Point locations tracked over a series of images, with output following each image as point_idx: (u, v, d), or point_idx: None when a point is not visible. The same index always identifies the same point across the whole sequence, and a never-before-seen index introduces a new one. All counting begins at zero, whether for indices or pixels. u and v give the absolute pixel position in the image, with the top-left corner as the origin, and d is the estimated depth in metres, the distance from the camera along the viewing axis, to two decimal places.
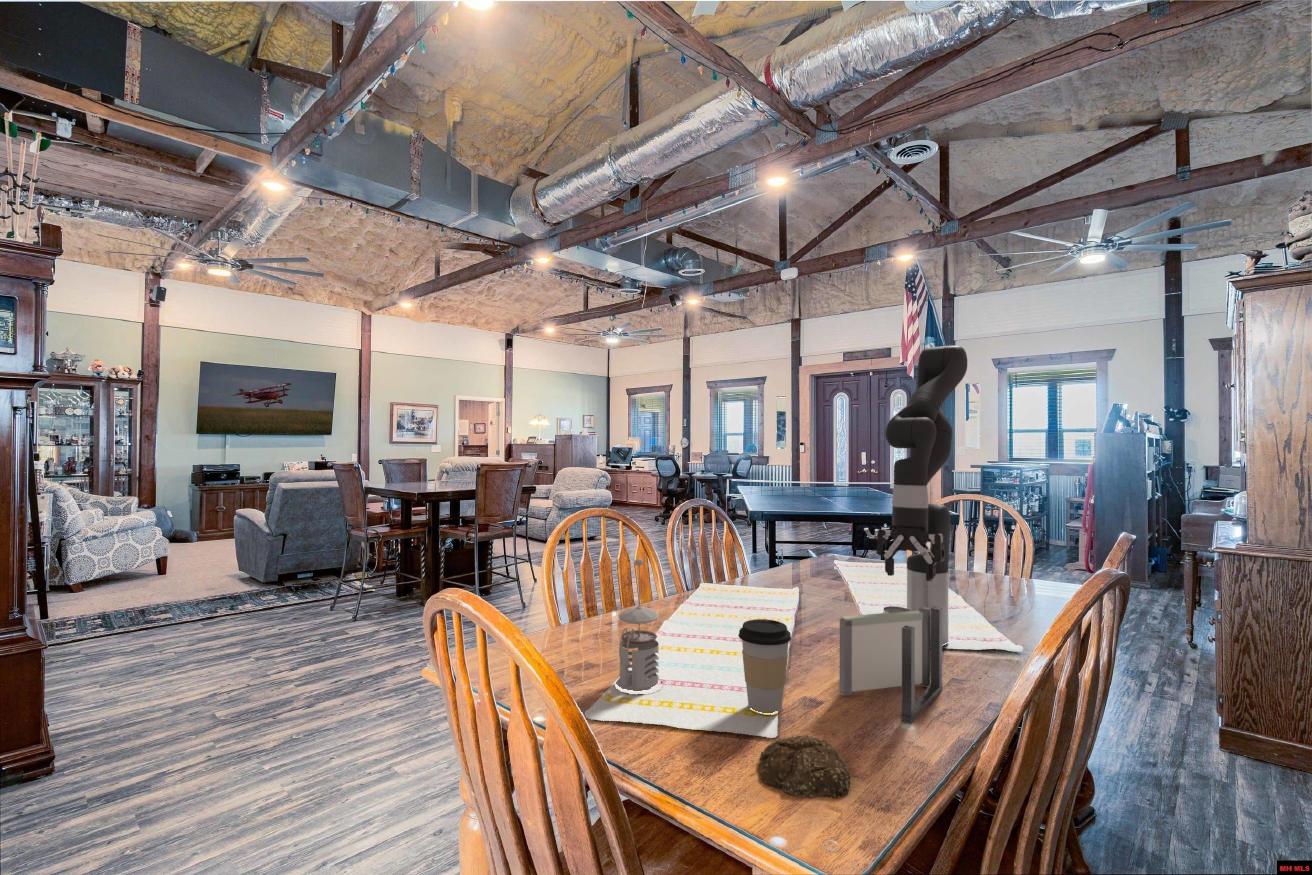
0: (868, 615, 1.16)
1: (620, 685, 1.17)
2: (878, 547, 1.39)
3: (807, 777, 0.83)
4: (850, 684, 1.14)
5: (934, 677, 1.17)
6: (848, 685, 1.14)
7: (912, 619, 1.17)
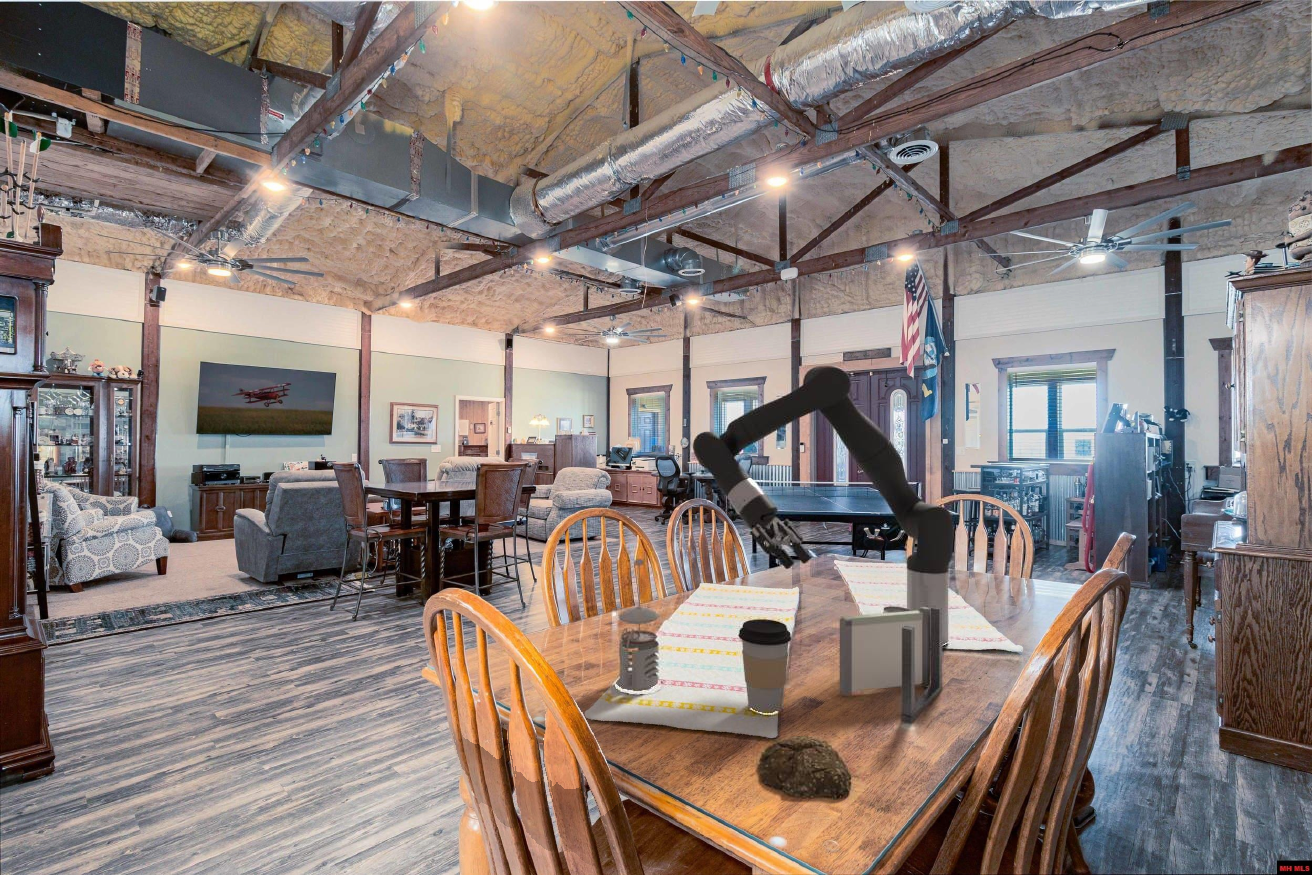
0: (868, 615, 1.16)
1: (620, 685, 1.17)
2: None
3: (808, 778, 0.83)
4: (850, 684, 1.14)
5: (934, 677, 1.17)
6: (848, 685, 1.14)
7: (912, 619, 1.17)
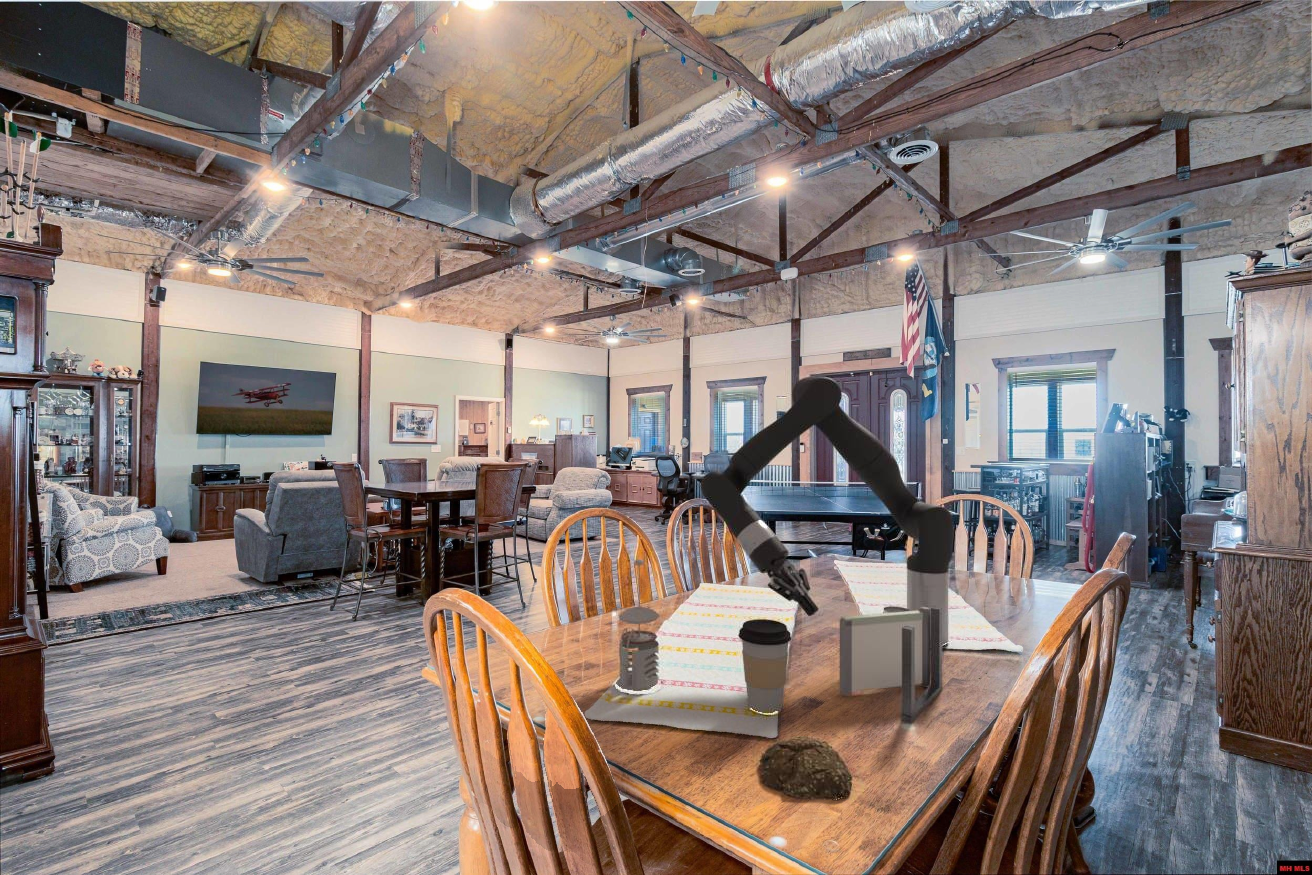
0: (868, 615, 1.16)
1: (620, 685, 1.17)
2: None
3: (809, 779, 0.83)
4: (850, 684, 1.14)
5: (934, 677, 1.17)
6: (848, 685, 1.14)
7: (912, 619, 1.17)
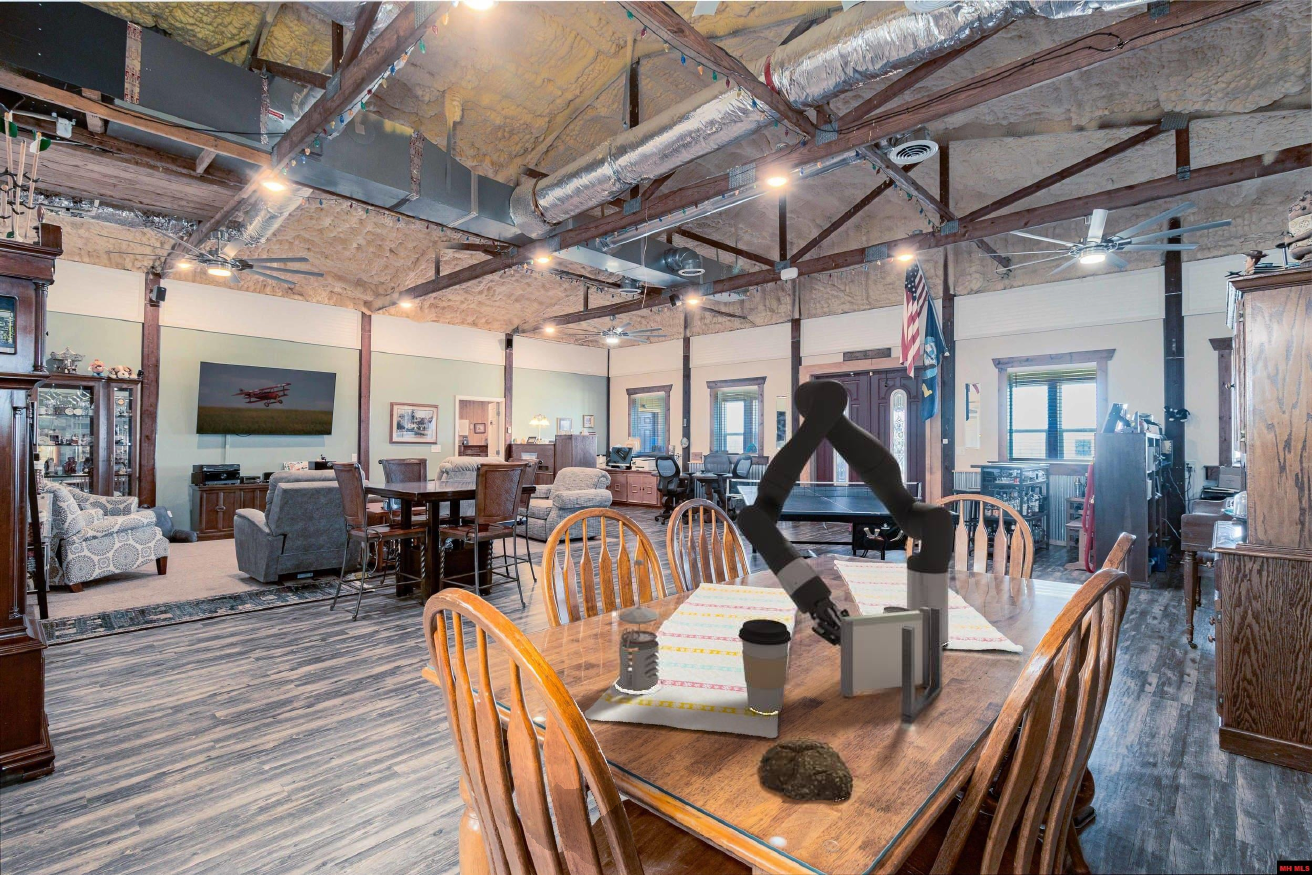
0: (869, 615, 1.16)
1: (620, 685, 1.17)
2: None
3: (809, 780, 0.83)
4: (851, 685, 1.13)
5: (934, 677, 1.17)
6: (849, 686, 1.13)
7: (912, 619, 1.17)
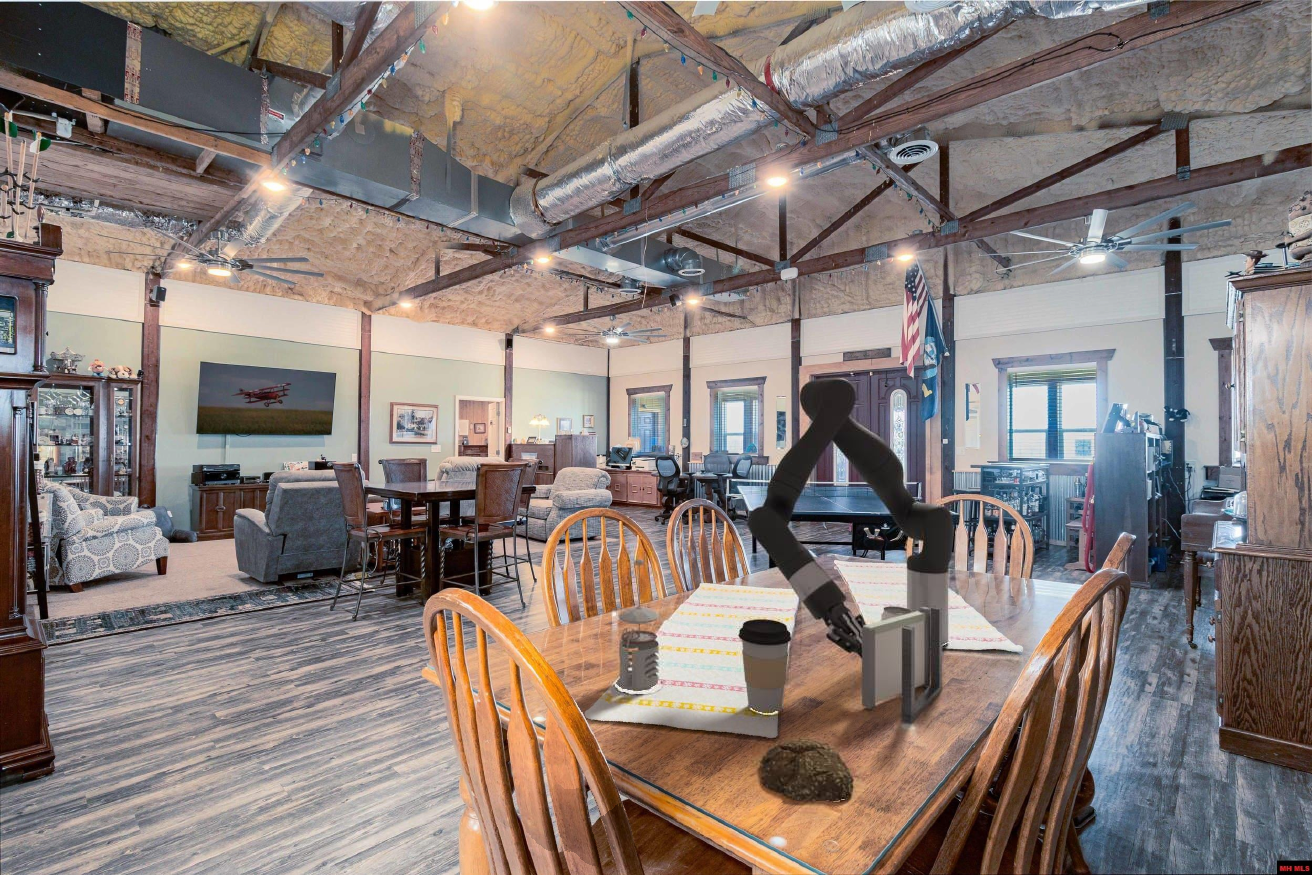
0: (885, 621, 1.12)
1: (620, 685, 1.17)
2: None
3: (810, 781, 0.82)
4: (874, 696, 1.09)
5: (934, 677, 1.17)
6: (872, 697, 1.08)
7: (918, 620, 1.16)
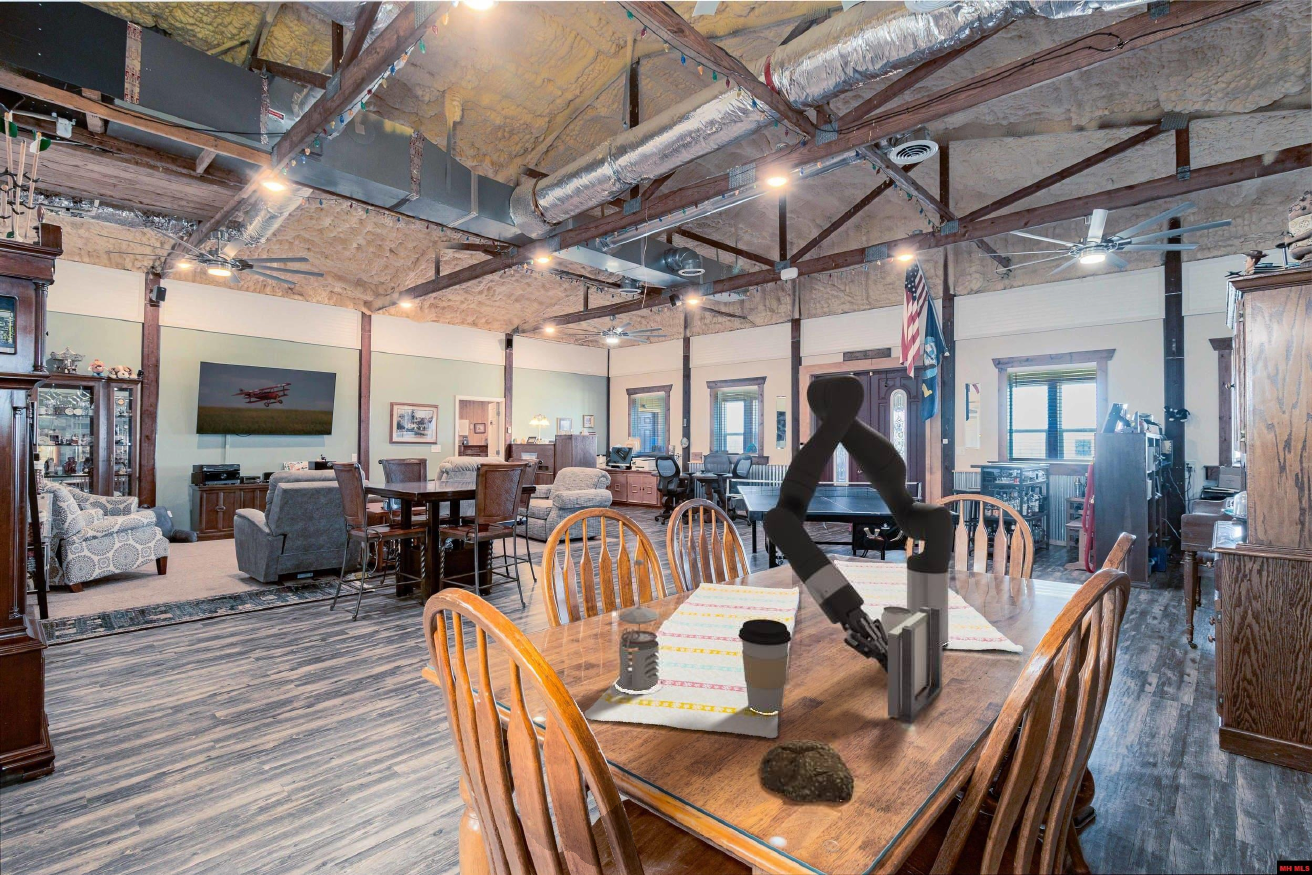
0: (902, 625, 1.09)
1: (620, 685, 1.17)
2: None
3: (810, 782, 0.82)
4: (899, 704, 1.05)
5: (934, 677, 1.17)
6: (898, 705, 1.05)
7: (923, 621, 1.16)
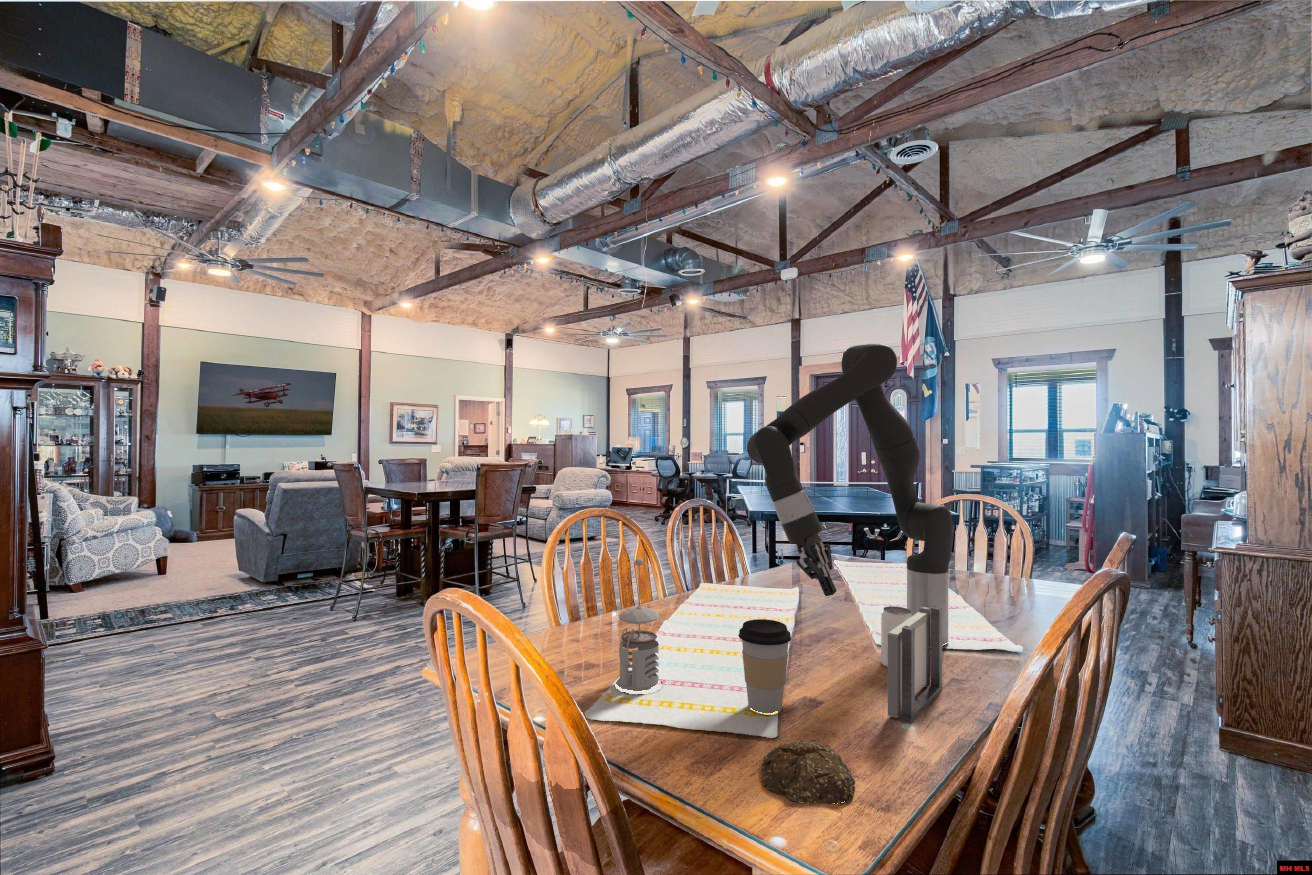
0: (902, 625, 1.09)
1: (620, 685, 1.17)
2: None
3: (811, 783, 0.82)
4: (899, 704, 1.05)
5: (934, 677, 1.17)
6: (898, 705, 1.05)
7: (923, 621, 1.16)
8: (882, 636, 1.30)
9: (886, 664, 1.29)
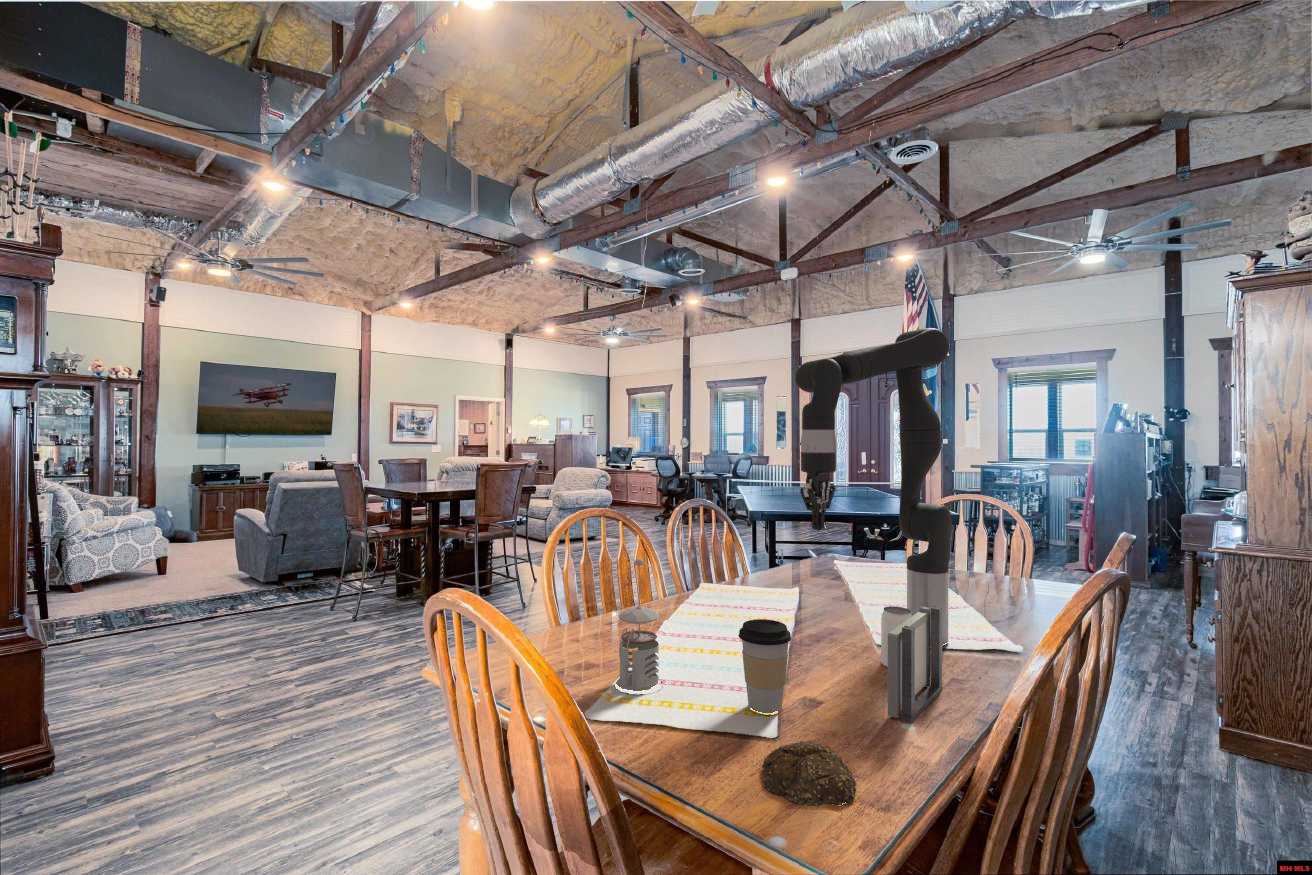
0: (902, 625, 1.09)
1: (620, 685, 1.17)
2: None
3: (812, 785, 0.81)
4: (899, 704, 1.05)
5: (934, 677, 1.17)
6: (898, 705, 1.05)
7: (923, 621, 1.16)
8: (882, 636, 1.30)
9: (886, 664, 1.29)
